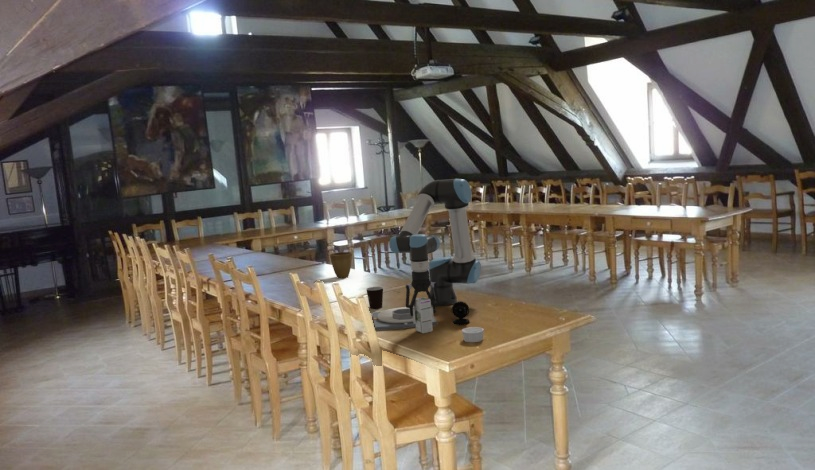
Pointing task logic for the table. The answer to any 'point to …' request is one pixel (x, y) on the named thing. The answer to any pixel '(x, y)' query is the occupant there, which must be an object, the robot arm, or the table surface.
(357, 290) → the table surface
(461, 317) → the webcam
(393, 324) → the base
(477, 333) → the ramekin
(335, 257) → the plant pot
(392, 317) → the grey round plate
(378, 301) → the black cup
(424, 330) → the syrup box
